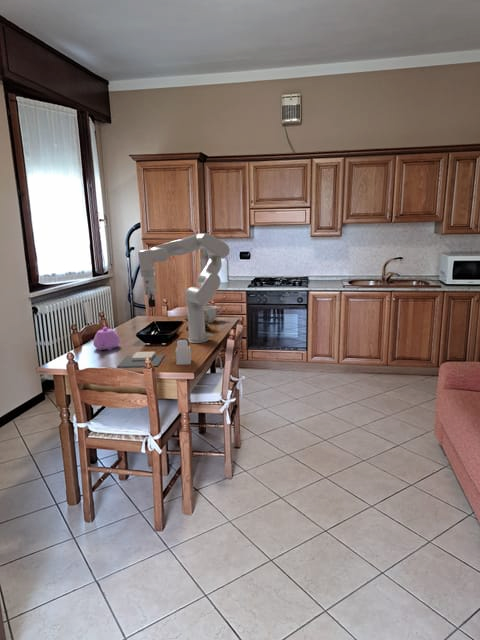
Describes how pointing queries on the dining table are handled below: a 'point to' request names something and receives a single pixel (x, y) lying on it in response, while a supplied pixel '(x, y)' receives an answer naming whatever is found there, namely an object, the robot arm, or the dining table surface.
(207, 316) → the owl figurine
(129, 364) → the mat
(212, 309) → the teacup
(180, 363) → the medicine bottle
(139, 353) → the tile
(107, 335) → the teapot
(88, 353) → the dining table surface
